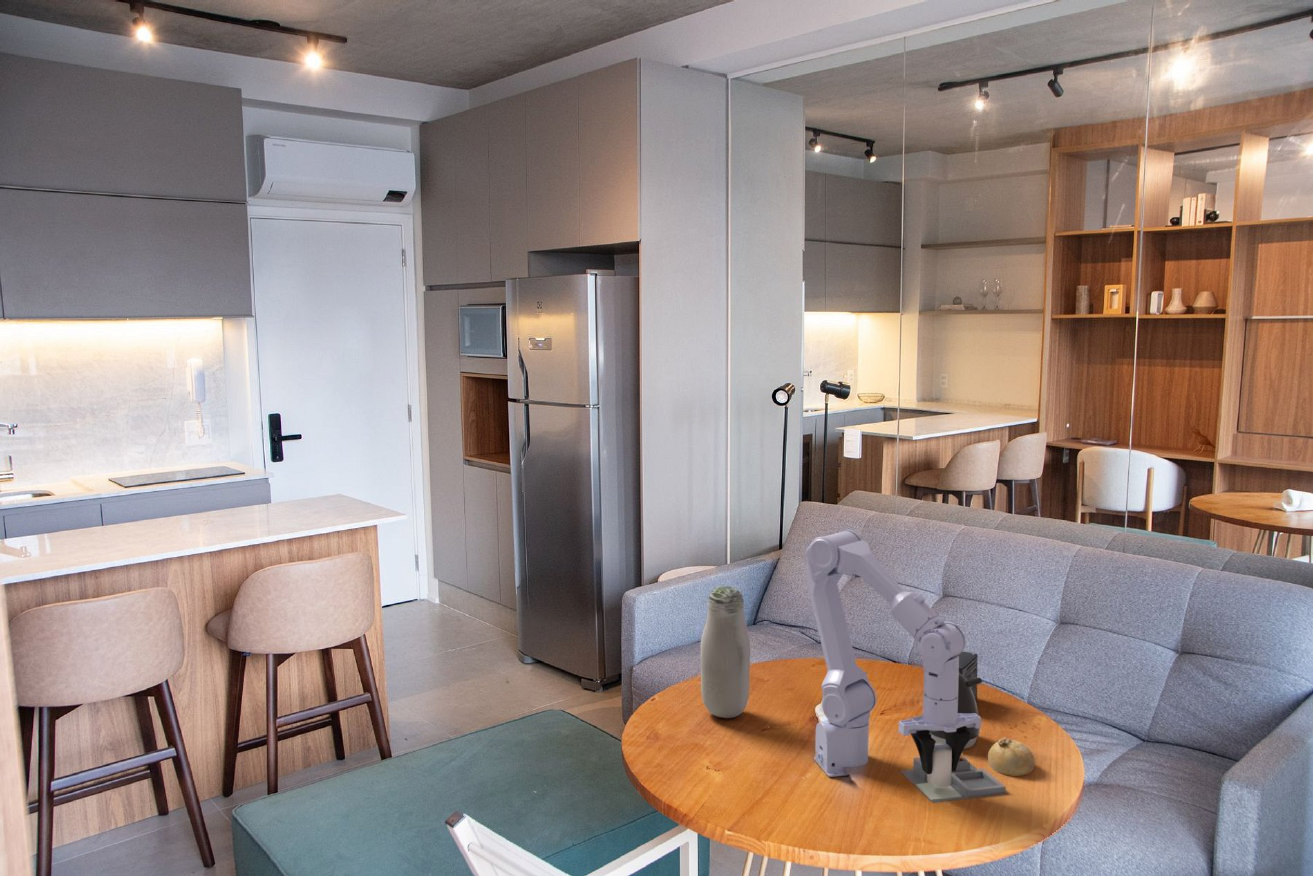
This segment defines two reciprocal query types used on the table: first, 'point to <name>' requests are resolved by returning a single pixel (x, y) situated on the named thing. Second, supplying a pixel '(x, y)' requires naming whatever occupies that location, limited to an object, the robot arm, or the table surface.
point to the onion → (1011, 758)
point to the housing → (956, 783)
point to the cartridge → (941, 766)
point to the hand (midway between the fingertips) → (938, 770)
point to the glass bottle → (725, 654)
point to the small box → (969, 668)
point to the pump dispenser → (963, 709)
